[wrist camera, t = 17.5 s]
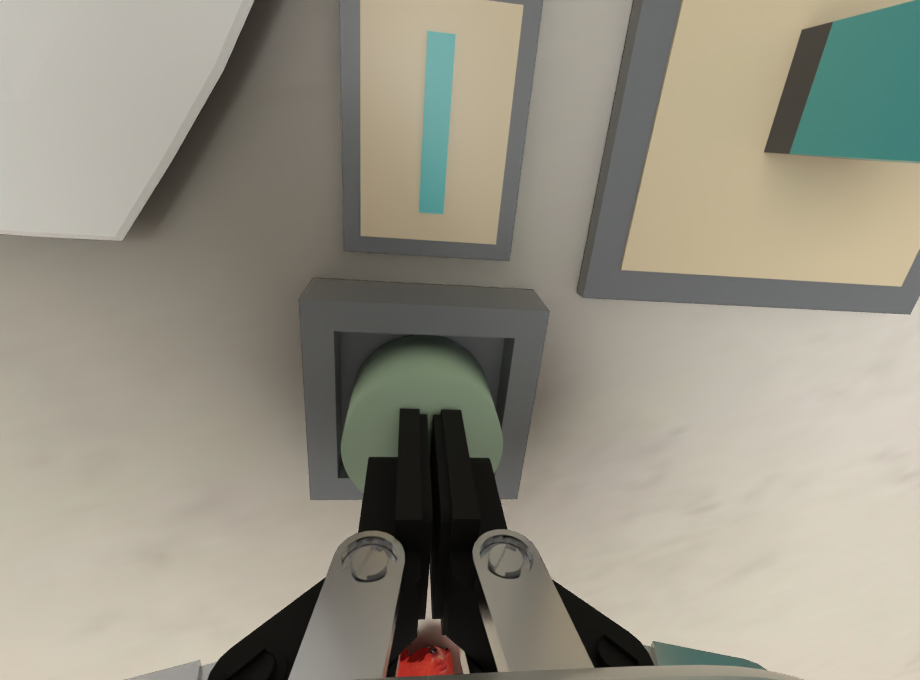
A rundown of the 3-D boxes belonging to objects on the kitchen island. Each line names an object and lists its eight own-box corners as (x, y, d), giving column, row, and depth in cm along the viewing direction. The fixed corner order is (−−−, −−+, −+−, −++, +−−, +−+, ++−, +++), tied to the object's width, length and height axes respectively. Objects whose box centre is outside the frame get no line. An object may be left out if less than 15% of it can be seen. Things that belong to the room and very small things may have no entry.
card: (341, -39, 11) (337, -47, 11) (540, -12, 12) (547, -19, 11) (345, 248, 14) (342, 252, 14) (506, 257, 15) (510, 262, 14)
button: (351, 332, 14) (338, 376, 11) (495, 338, 15) (512, 381, 12) (353, 451, 16) (342, 512, 13) (480, 452, 16) (493, 511, 14)
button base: (312, 278, 14) (298, 299, 13) (533, 289, 15) (549, 310, 13) (321, 460, 17) (310, 499, 15) (506, 461, 18) (517, 498, 16)
